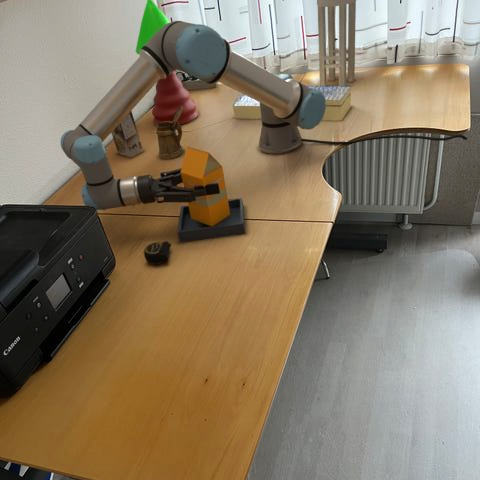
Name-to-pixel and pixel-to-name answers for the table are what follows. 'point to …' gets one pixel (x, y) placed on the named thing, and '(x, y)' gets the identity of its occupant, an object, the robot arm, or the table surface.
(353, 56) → the stool
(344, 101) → the pale yellow long box
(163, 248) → the tape measure
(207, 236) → the tray
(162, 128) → the wooden mug
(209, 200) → the orange juice
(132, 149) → the coffee box
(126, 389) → the table surface
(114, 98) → the robot arm
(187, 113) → the table lamp
